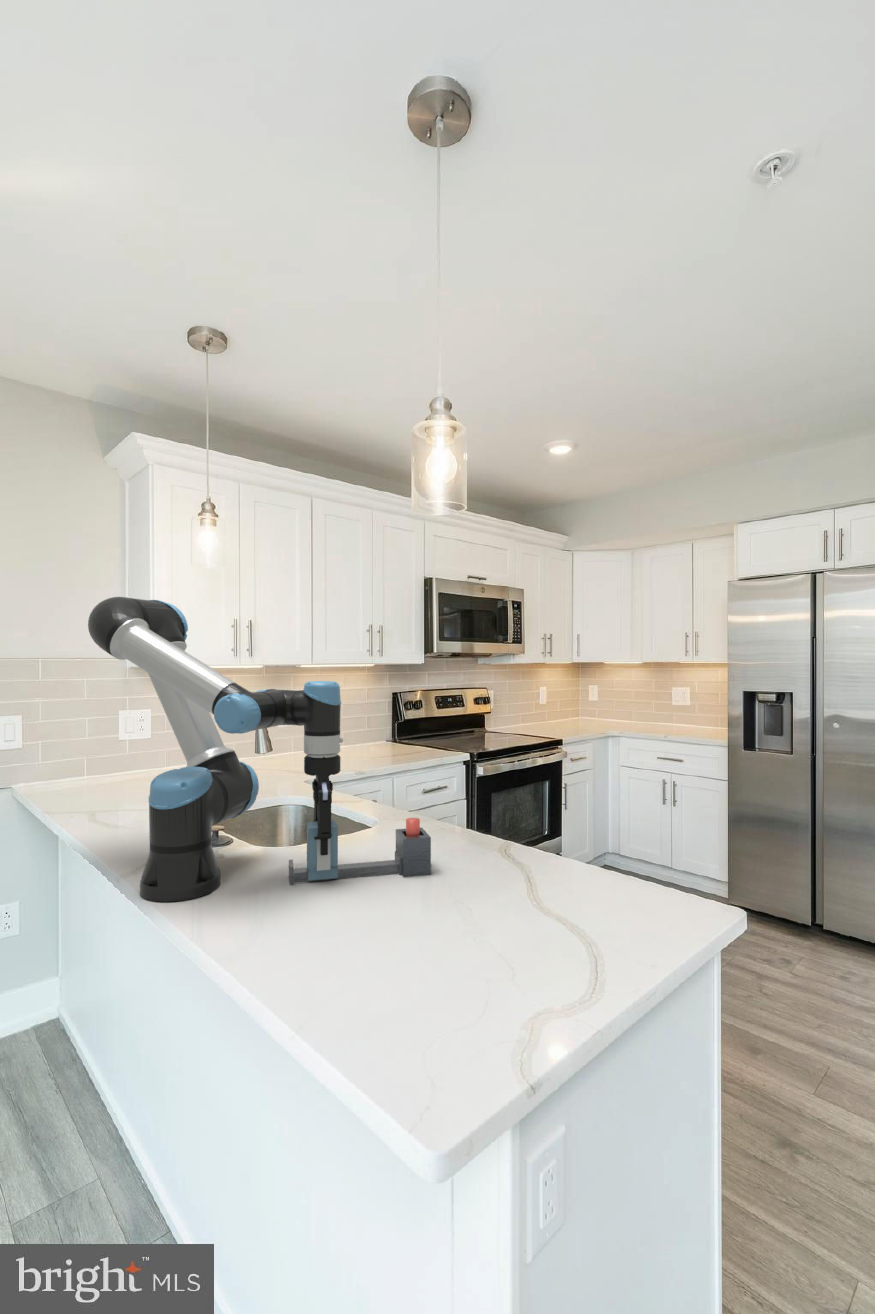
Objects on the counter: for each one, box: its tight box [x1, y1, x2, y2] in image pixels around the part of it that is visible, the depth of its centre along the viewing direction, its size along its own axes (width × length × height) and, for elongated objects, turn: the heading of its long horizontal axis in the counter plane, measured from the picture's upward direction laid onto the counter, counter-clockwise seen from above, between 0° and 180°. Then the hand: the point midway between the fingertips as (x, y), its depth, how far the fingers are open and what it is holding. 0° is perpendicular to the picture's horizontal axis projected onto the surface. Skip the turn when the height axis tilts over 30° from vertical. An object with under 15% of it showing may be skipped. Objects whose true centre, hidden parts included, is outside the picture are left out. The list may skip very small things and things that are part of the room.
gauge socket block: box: [395, 826, 432, 878], centre depth 140 cm, size 6×8×8 cm
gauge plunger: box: [405, 817, 421, 836], centre depth 140 cm, size 3×3×6 cm
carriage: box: [306, 819, 339, 882], centre depth 135 cm, size 6×5×11 cm
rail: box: [288, 850, 402, 886], centre depth 136 cm, size 24×5×4 cm, turn 105°
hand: (322, 864), depth 135 cm, fingers open, 5 cm apart
